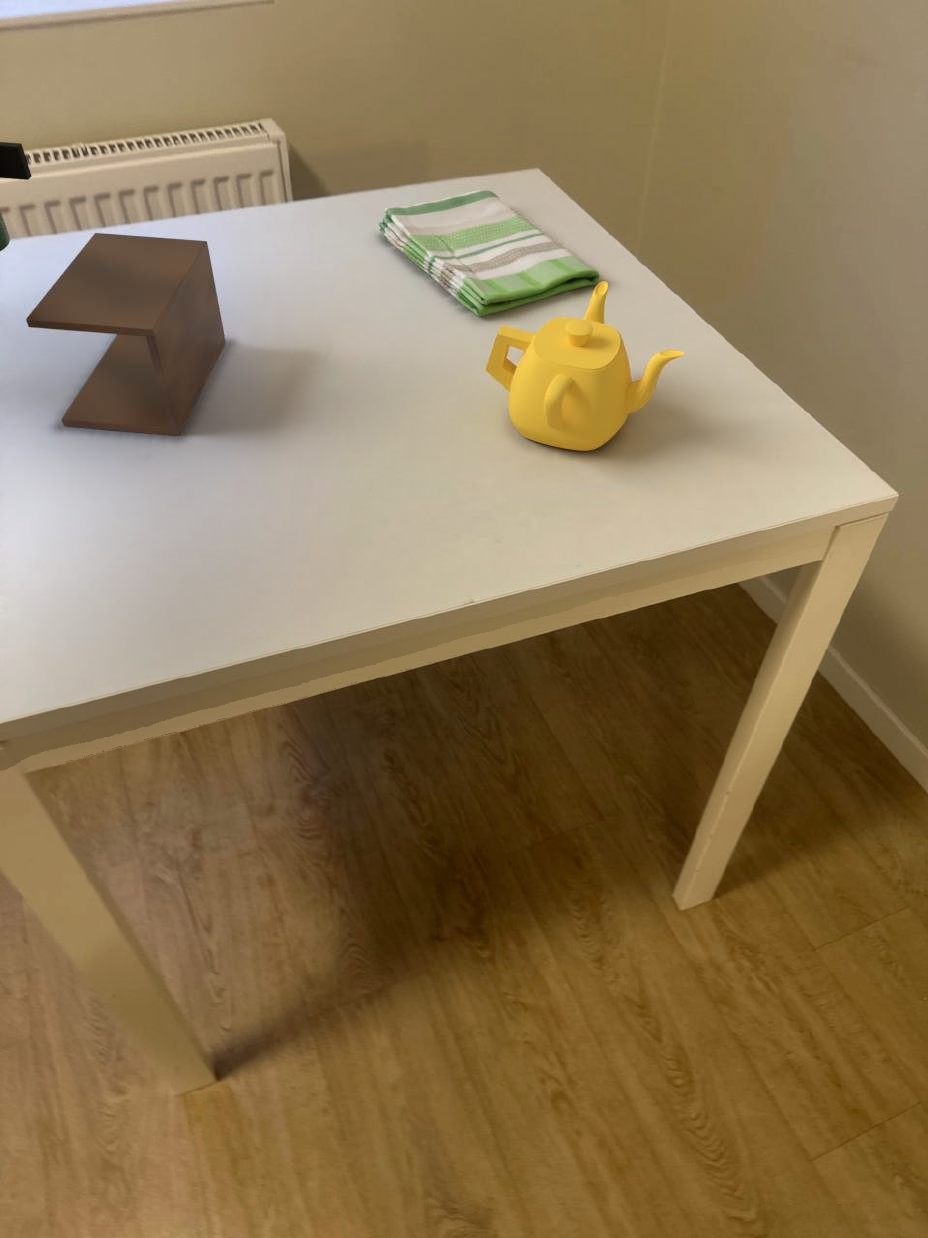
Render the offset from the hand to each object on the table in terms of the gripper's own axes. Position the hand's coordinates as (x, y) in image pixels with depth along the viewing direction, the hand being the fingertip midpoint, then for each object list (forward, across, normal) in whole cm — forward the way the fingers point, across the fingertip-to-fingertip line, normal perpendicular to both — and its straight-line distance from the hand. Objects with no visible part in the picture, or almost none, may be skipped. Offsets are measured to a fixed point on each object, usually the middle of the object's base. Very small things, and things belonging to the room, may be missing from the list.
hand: (7, 178), depth 77 cm
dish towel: (+38, -31, -20) cm, 53 cm away
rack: (+7, -1, -20) cm, 21 cm away
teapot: (+49, -1, -20) cm, 53 cm away
